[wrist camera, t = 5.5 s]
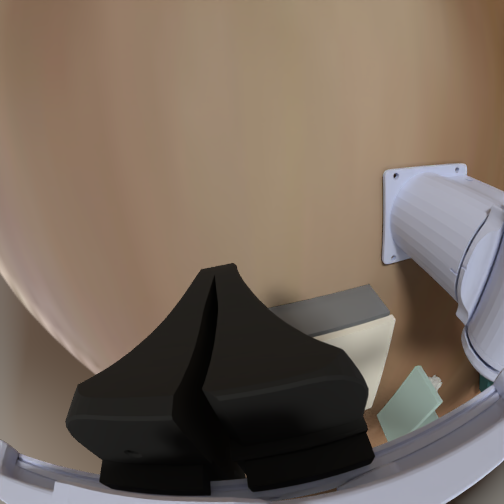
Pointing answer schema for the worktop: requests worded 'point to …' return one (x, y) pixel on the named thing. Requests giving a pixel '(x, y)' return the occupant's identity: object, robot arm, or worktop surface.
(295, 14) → the worktop surface
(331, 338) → the lid
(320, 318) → the storage box
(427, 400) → the l-shaped corner panel
